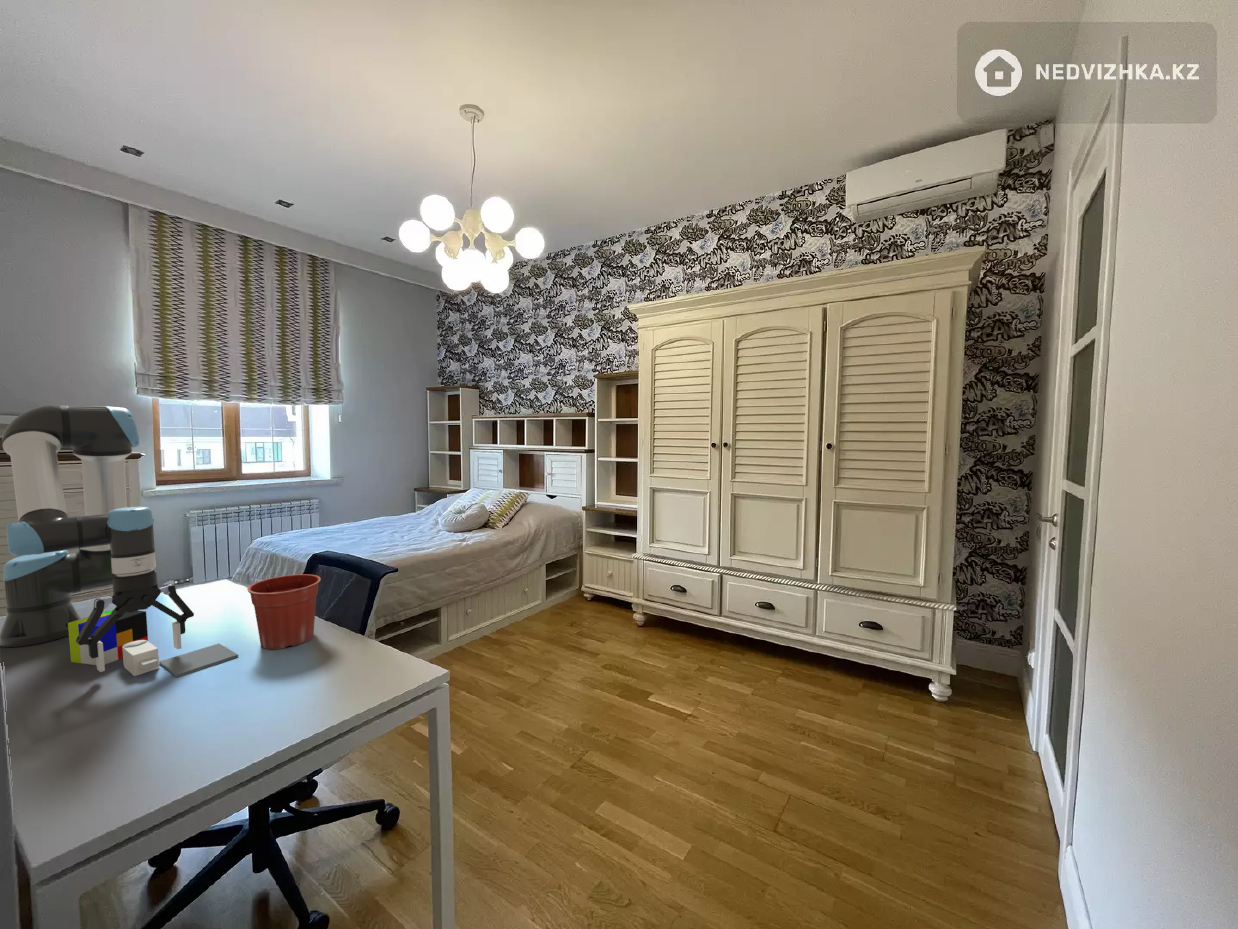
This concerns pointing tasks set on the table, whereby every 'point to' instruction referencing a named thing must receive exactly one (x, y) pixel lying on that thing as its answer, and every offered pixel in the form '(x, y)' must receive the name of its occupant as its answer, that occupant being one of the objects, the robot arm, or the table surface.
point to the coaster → (198, 659)
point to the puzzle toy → (109, 636)
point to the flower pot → (285, 609)
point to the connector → (140, 657)
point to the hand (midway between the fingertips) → (141, 658)
